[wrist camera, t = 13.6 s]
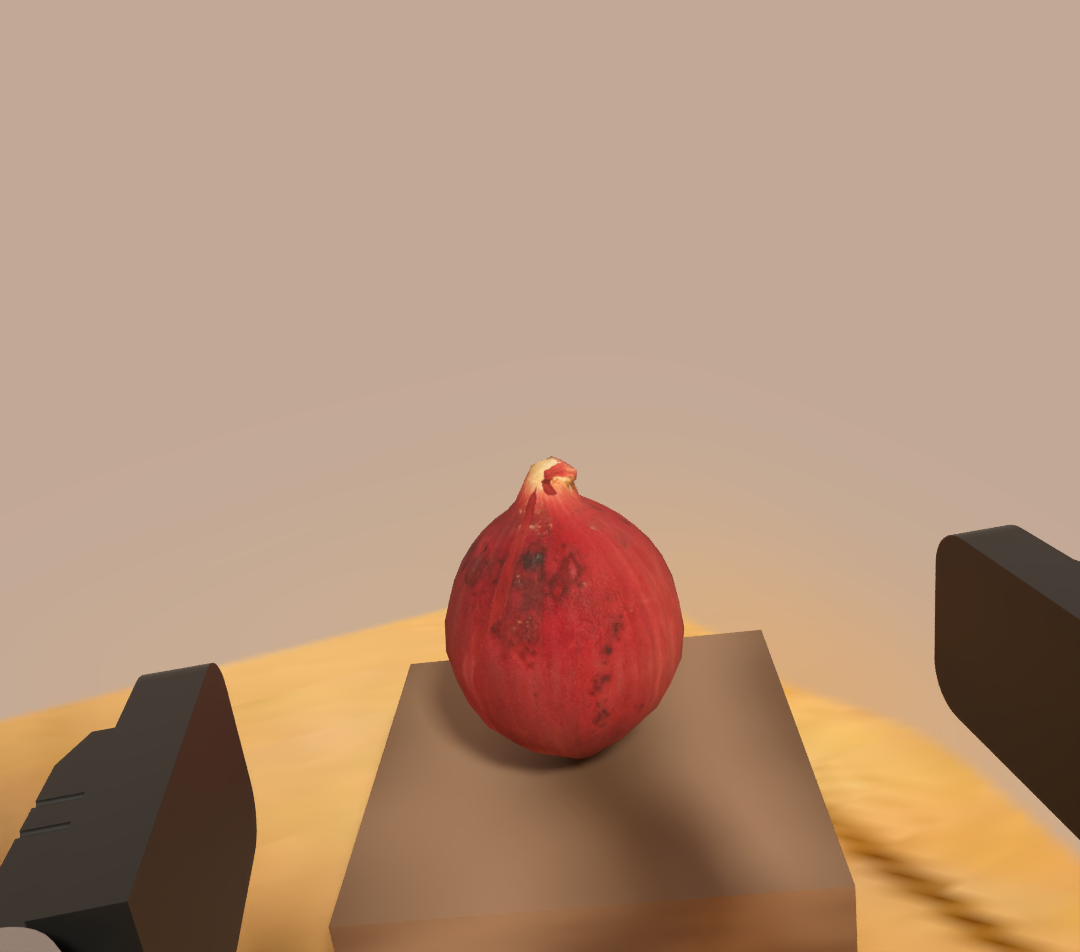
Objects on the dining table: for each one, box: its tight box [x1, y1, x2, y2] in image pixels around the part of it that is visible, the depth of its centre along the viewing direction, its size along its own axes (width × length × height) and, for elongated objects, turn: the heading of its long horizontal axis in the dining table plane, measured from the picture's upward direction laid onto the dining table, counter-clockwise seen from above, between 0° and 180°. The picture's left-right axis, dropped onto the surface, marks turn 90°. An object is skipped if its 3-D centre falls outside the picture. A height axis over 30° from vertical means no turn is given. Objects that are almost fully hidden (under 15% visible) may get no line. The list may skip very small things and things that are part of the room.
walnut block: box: [329, 630, 857, 952], centre depth 27 cm, size 11×11×5 cm
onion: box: [445, 456, 684, 759], centre depth 24 cm, size 6×6×8 cm
